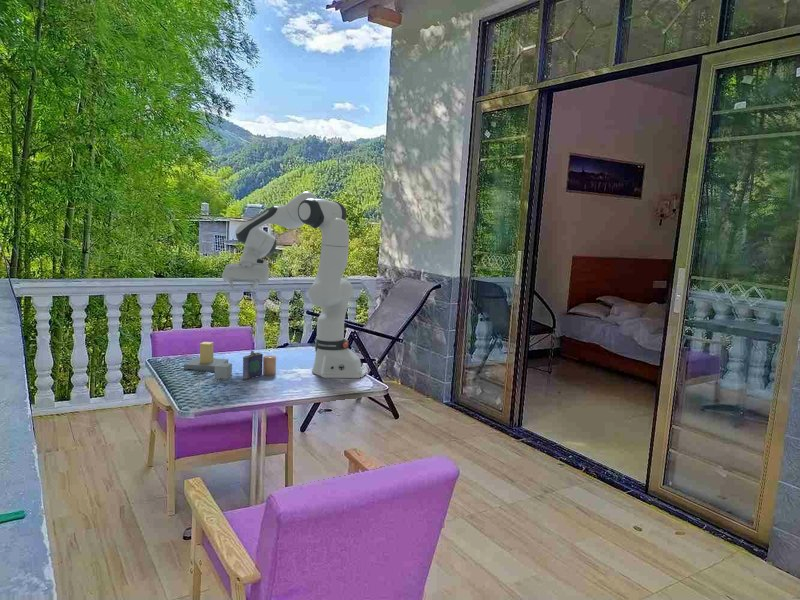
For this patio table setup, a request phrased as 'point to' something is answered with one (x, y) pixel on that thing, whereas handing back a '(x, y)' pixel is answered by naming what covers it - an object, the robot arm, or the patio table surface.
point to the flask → (252, 365)
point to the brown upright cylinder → (269, 365)
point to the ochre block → (206, 352)
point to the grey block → (223, 370)
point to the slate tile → (203, 364)
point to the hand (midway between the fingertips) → (241, 288)
